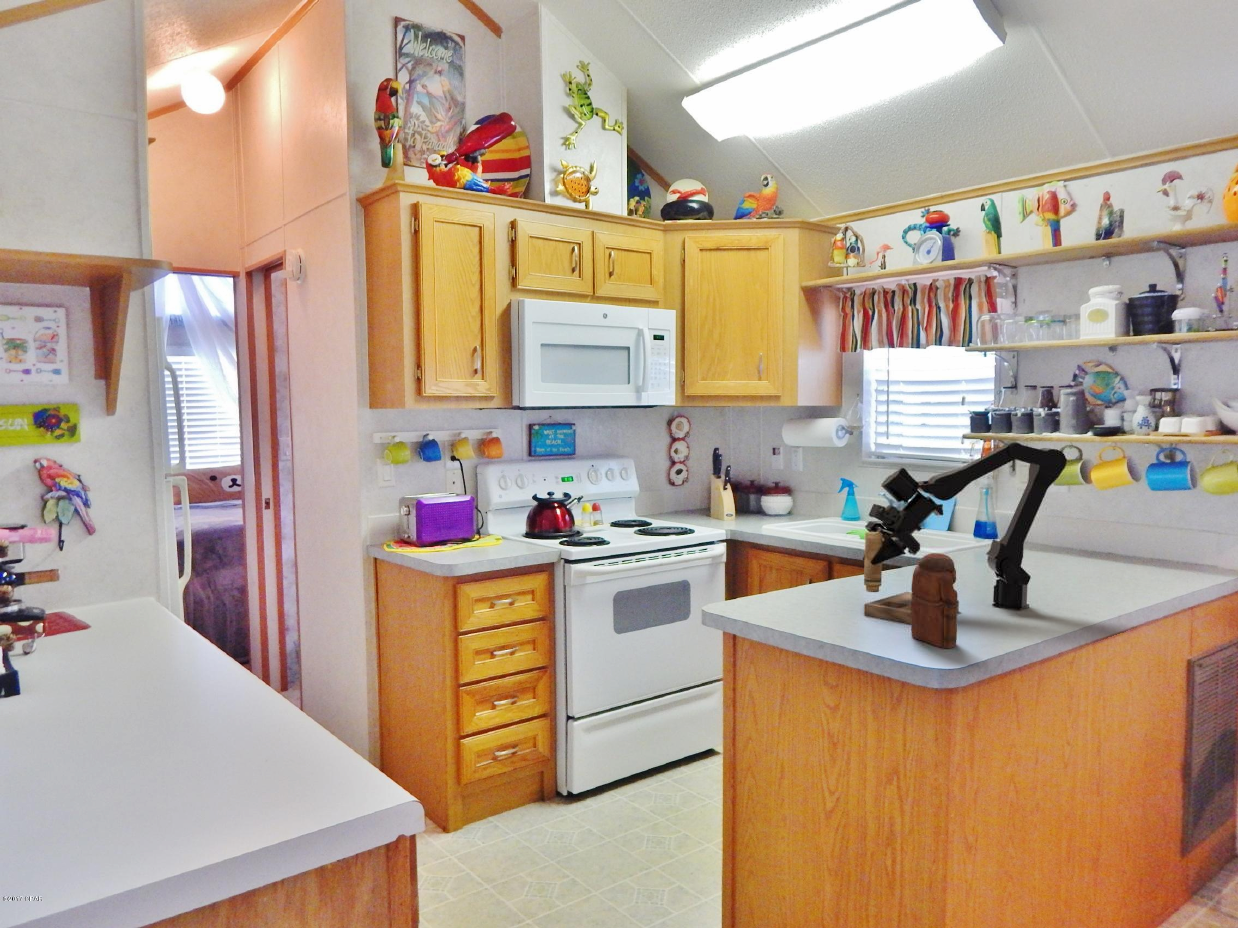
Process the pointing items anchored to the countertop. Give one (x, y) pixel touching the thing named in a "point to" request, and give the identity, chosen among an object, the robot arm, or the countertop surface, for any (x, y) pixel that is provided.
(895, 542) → the robot arm
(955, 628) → the wooden figurine
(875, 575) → the oak peg
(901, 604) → the walnut board
